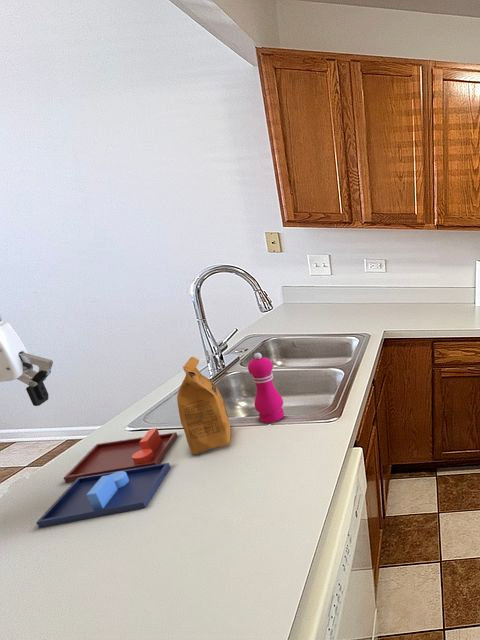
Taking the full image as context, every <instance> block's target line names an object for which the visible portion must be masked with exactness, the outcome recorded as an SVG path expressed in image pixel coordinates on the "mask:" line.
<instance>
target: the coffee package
mask: <svg viewBox="0 0 480 640" xmlns="http://www.w3.org/2000/svg"><path fill="white" fill-rule="evenodd" d="M199 362H200V360H199V358H196V356H191V357H189V359H188V360H187V361H186V363H185V364H184V365H183V366H182V369H183V371H184V374H185V376H184V379H183V381H182V382H181V385H180V386H179V388H178V391H177V396H176V398H177V399H176V400H177V401H176V402H177V408H178V415H179V420H180V424H181V426H182V429H183V432H184V435H185V439H186V441H187V445H188V448H189V451H190V453H191V454H192V455H199V454H200V453H203V452H206V451H208V450H211V449H217V448H221V447H224V446H227V445H228V444H230V442H231V424H230V419H229V414H228V411H227V408H226V404H225V401H224V399H223V396H222V394H221V392H220V390H219V389H218V387H217V385H216V384H215V383H214V382H213V381H212V380H211V379H210V378H208V377H207V376H205V375H203V374H202V373H201V371H200V370H199V369H198V368H197V366H198V365H199Z"/></svg>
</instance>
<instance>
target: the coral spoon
mask: <svg viewBox="0 0 480 640" xmlns="http://www.w3.org/2000/svg"><path fill="white" fill-rule="evenodd" d="M160 435H161V434H160V432H159V430H158V428H157V427H156V428H149V429H148V431H147V432H146V433H145V435H143V436H142V437H143V438H142V439H141V441H140V442H139V443H140V445H141V448H142V450H140V451H138V452H136V453H134V454H133V455H132V459H133V461H134V463H135V465H137V464H143V463H149V462H151V461H152V460H153V459H154V458H155V457H154V454H153V453H154V452H155V450H156V449H157V447H158V446H159V445H160V443H161V442H162V440H161V438H160Z"/></svg>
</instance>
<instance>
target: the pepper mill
mask: <svg viewBox="0 0 480 640" xmlns="http://www.w3.org/2000/svg"><path fill="white" fill-rule="evenodd" d="M253 357H254V358H252V359H251V360H250V361H249V362H248V364H247V371H248V373H249V374H250V375H251V379H252V382H253V383H254V384H255V386H256V394H255V398H254V409H255V410H256V412H258V417H259V421H260V422H261V423H264V424H271V423H274V422H278V421H280V420H282V418H284V416H285V411H284V409H283V408H282V407H283V406H284V399H283V397H282V395H281V394H280V393H279V391H278V390H277V389H276V387H275V385H274V382H273V378H274V374H273V372H272V371H273V369H274V366H273V365H274V364H273V362H272V360H271V359H270V358H268V357H263V356H262V354H261V353H260V352H256V353H254V355H253Z"/></svg>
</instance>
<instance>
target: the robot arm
mask: <svg viewBox="0 0 480 640" xmlns="http://www.w3.org/2000/svg"><path fill="white" fill-rule="evenodd" d="M53 364H54V361H53V360H52V359H50V358H46V357H42V356H40V355H39V356H38V355H35V354H31V353H29V352H28V350H27V348H26V346H25V345H24V343H23V341H22V340H21V338H20V337H19V335H18V334H17V332H16V331H15V330H14V328H13V327H12V325H10V323H9V322H8V321H4V320H3V318H2V316H1V315H0V383H2V382H3V383H4V382H12V381H15V380H18V381H20V382H22V383H24V384H25V385H26V386H27V387H25V390H26V392H27V395H28V397H29V400H30V402H31V403H32V405H33V406H34V407H39V406H41V405H43V404H44V403H45V402H47V401H48V400H49V393H48V390H47V387H46V385H45V383H44V382H45V381H46V380H47V378H48V376H49V375H50V374H51V373H52V367H53ZM34 366H37V368H38V371H36V370H35V369H34Z"/></svg>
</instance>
